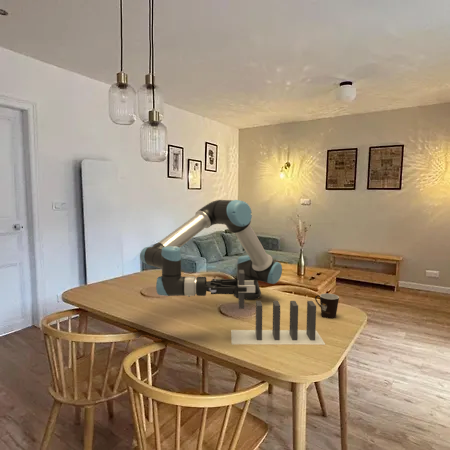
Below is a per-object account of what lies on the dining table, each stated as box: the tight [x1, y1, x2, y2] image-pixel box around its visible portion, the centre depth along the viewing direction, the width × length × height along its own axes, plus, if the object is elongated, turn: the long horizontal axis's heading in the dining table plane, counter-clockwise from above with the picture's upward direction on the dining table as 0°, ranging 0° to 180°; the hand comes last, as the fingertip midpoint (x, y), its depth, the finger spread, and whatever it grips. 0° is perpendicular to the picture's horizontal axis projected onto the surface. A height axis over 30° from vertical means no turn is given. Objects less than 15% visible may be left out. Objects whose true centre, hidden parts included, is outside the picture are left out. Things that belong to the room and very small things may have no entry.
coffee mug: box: [314, 293, 340, 320], centre depth 155 cm, size 12×9×10 cm
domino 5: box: [306, 300, 317, 340], centre depth 131 cm, size 2×6×14 cm, turn 0°
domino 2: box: [255, 300, 263, 340], centre depth 131 cm, size 2×6×14 cm, turn 0°
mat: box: [230, 329, 326, 346], centre depth 131 cm, size 13×36×1 cm, turn 90°
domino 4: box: [289, 300, 299, 340], centre depth 131 cm, size 2×6×14 cm, turn 0°
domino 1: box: [237, 270, 245, 310], centre depth 129 cm, size 2×6×14 cm, turn 0°
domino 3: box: [272, 300, 281, 340], centre depth 131 cm, size 2×6×14 cm, turn 0°
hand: (254, 286), depth 129 cm, fingers closed on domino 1, 6 cm apart
